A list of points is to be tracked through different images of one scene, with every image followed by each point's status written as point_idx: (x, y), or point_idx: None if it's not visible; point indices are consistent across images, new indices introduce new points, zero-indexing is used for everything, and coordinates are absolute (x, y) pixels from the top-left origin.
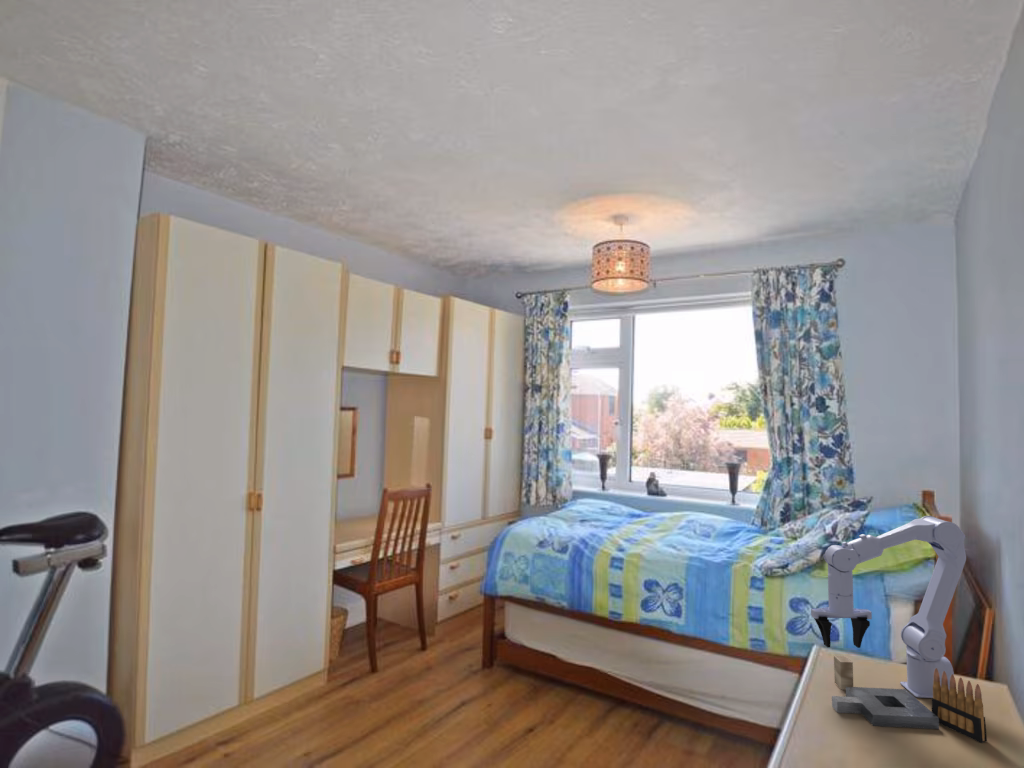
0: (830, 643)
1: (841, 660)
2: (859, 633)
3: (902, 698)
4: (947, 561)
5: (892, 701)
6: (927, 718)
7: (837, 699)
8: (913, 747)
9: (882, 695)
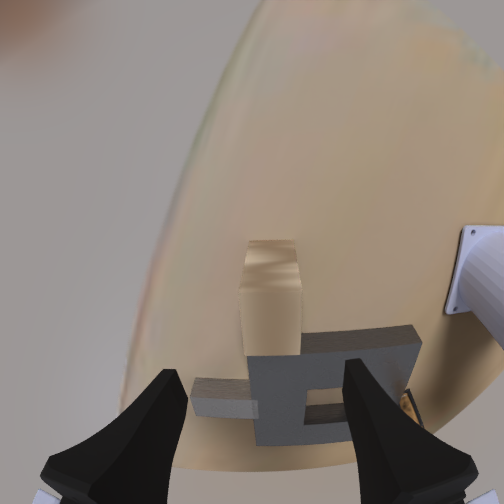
0: (184, 419)
1: (256, 341)
2: (358, 469)
3: None
4: None
5: None
6: None
7: (199, 408)
8: (293, 458)
9: (332, 386)
